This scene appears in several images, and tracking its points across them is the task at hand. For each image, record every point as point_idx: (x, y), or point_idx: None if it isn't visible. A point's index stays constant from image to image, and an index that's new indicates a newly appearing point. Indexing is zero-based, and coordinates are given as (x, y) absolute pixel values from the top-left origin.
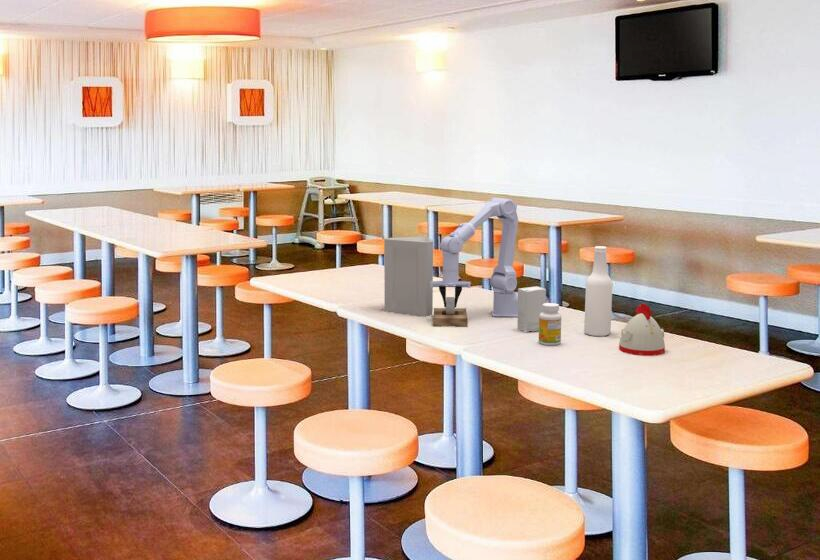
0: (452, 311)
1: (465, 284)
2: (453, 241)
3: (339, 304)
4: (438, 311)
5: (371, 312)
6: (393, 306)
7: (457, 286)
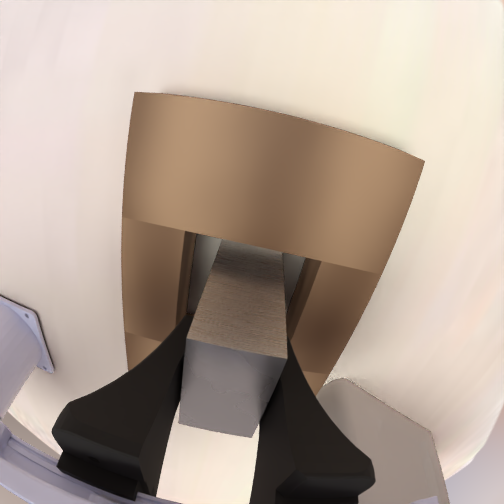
0: (228, 273)
1: (4, 463)
2: None
3: (462, 463)
4: (305, 362)
5: (466, 421)
6: (424, 443)
7: (111, 491)
